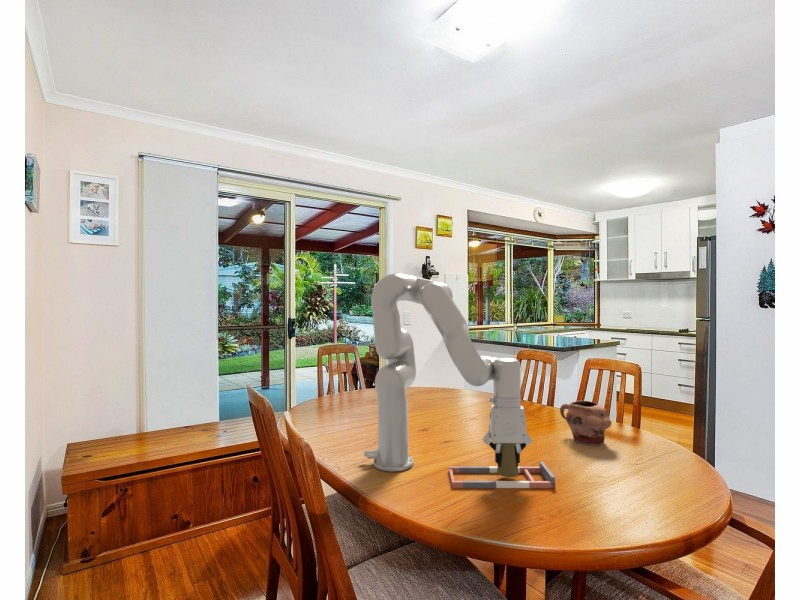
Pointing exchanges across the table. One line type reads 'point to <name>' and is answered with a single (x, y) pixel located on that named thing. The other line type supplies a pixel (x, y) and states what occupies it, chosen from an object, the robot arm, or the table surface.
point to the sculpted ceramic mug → (586, 421)
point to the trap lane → (503, 484)
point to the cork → (508, 461)
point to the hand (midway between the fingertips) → (507, 464)
